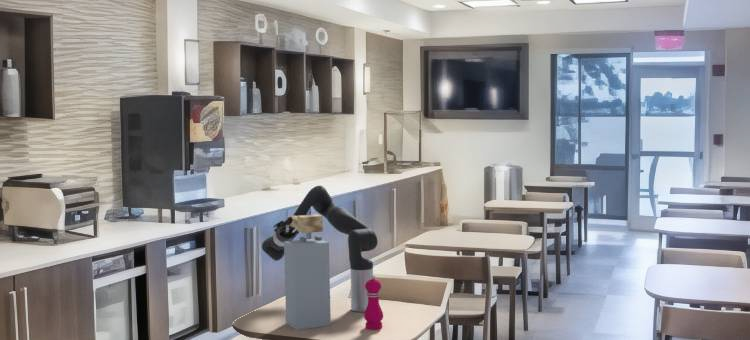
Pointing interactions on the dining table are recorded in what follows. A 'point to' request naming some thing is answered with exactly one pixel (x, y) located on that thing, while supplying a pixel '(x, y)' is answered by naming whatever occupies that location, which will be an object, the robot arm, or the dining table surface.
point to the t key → (307, 223)
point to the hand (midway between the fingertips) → (296, 218)
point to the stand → (307, 283)
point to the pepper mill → (373, 305)
